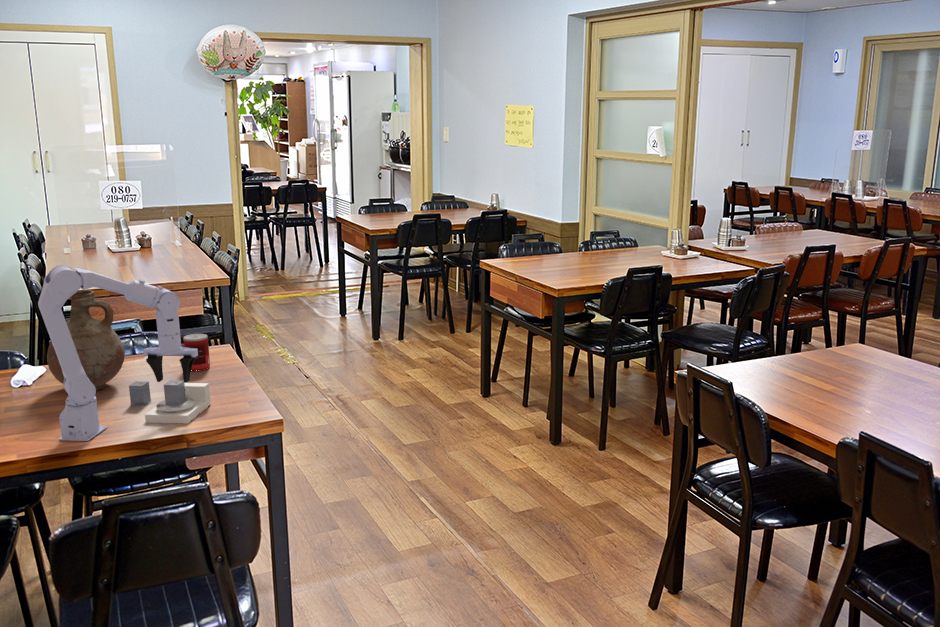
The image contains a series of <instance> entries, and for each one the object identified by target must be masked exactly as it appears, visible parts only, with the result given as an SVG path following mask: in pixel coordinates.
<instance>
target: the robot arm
mask: <svg viewBox="0 0 940 627" xmlns="http://www.w3.org/2000/svg"><path fill="white" fill-rule="evenodd" d="M74 270H75V271H74ZM91 288H97V289H101V290H104V291H109V292H113V293H116V294H121V295H124V297H125V299H126V301H127V302H129V303H130V302H131V303H135V304H138V305H139V306H140V305H141V306H144V307H148V308H152V309H153V308H155V313H156V314H155V316H156V319H155V321H156V330H157V342H158V347H146V348H144V349H143V350H142V351H143V357H147V358H146V359H145V360H146V361H145V362H146V363H147V364H148V365H149V367H150V369H151V370H152V372H153V373H154V376H155V379H156V382H157V383H160V382H162V381H164V372H163V357H182V358H180V359H179V363H180V366H181V369H182V378H183V380H182V381H184V383H189V382H190V378H191V372H192V371H191V369H192V366H193V363H194V361H195V358H196V356H198V349H194V348H186V347H184V346H182V339H181V328H180V327H181V326H180V318H179V313H178V312H179V311H178V309H179V308H180V306H181V300H180V299H179V297H178V295H177V294H176V293H175V292H173V291H171V290H170V289H167V288H166V287H163V286H160V285H158V286H155V285H151V284H147V283H146V281H145V280H143V279H138V280H134V279H133V280H132V281H129V282H125V281H123V280H122V281H121V280H119V279H115V278H113V277H110V276H107V275H103V274H101V273H98V272H95V271H93V270H88V269H83V268H79V267H70V266H68V265H64V264H59V265H57V266H54V267H53V268H51V270H50V271H49V272H48V273H47V274H46V275H45V277H44V279H43V285H42V289H41V292H40V295H39V299H38V301H37V305H38V308H39V311H40V315H41V316H42V319H43V322H44V325H45V328H46V331H47V333H48V335H49V338H50V342H51V341H52V344H53V346H54V349H55V352H56V354H57V357H58V360H59V362H60V365H61V368H62V372H63V375H64V383H63V384H62V385H63V390H64V391H65V392H66V393H67V397H66V399H65V407H64V409H63V410H62V411H61V412H60V414H59V427H60V435H61V436H60V437H58V440H59V441H66V442H67V441H68V442H69V441H71V442H72V441H73V442H74V441H78V442H88V441H90V440H91V439H93V438H94V437H96V436H98V435H99V434H101V432H103V431H105V430H106V429H107V428H108V426H106V425H100V420H99V418H100V417H99V411H98V403H97V402H98V401H97V396H96V394H97V393H96V392H97V390H96V389H95V386H94V385H93V384H92V383H91V382H90V380H89V378H88V377H87V376H86V374H85V371H84V369H83V367H82V365H81V362H80V359H79V356H78V354H77V351H76V348H75V345H74V343H73V340H72V337H71V334H70V332H69V329H68V326H67V323H68V322H67V321H66V319H65V316H64V313H63V310H62V307H63V306H64V305H65V303H66V302H67V300H68V299H69V298H71V297H72V295H73V294H75V293H76V292H77V291H80V289H81V290H82V291H83V290H89V289H91Z"/></svg>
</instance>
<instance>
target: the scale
mask: <svg viewBox="0 0 940 627" xmlns="http://www.w3.org/2000/svg"><path fill="white" fill-rule="evenodd" d="M184 385H185V396H186V398H190V399H193V400H194V401H195V405H194V406H193V407H191V408H189V409H186V410H182V411H175V412H163V411H159V410H157V407H156V406H155V407H154V408H152V409H150V410H149V411H148V412H146V413H145V414H144V419H145V423H153V424H154V423H156V424H157V423H159V424H161V423H162V424H164V423H165V424H189V423H190V422H192V421H193V420H194V419H195V418H197V417H196V416H197V415H198V414H199V413H200V414H201V413H203V412H204V411H205V410H206V409H208V408H209V407H210V406H211V405H210V404H211V395H210V394H211V393H210V384H209V383H208V382H207V383H205V382H201V383H200V382H187V383H184ZM209 405H210V406H209ZM208 406H209V407H208ZM205 408H206V409H205ZM204 409H205V410H204ZM203 410H204V411H203ZM202 411H203V412H202ZM200 414H199V415H200ZM199 415H198V416H199ZM194 417H195V418H194ZM193 418H194V419H193ZM192 419H193V420H192ZM191 420H192V421H191Z"/></svg>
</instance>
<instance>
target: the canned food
mask: <svg viewBox="0 0 940 627" xmlns="http://www.w3.org/2000/svg"><path fill="white" fill-rule="evenodd" d="M182 340H183V347H186V348H194V349H198V356H196V358H195V361H194V363H193V366H192V369H191V370H192V371H191V372H199V371H198V370H203V371H205V370H204V369H207V368H208V369H210V367H211V359H210V346H209V337H208V335H207V334H204V333H191V334H187V335H184V336H183V339H182ZM208 369H207V370H208ZM196 370H197V371H196Z"/></svg>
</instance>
